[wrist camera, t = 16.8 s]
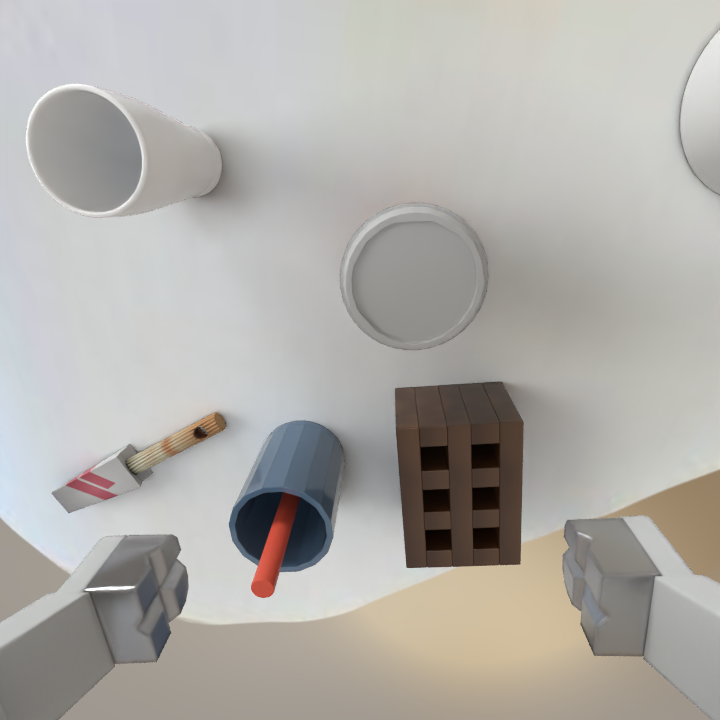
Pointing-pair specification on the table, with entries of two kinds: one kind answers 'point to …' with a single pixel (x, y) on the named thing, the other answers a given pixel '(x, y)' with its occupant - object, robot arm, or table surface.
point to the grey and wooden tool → (130, 467)
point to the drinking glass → (116, 153)
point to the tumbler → (297, 477)
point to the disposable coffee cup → (414, 276)
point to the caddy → (460, 474)
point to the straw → (275, 547)
